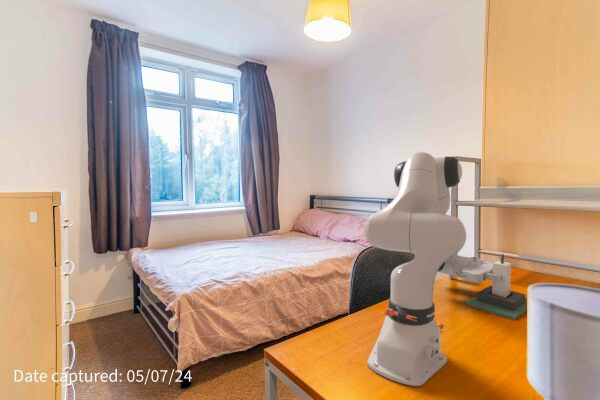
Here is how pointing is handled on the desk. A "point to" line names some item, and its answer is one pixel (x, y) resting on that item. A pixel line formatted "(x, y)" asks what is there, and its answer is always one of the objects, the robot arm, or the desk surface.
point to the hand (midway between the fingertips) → (504, 276)
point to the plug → (502, 286)
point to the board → (497, 309)
